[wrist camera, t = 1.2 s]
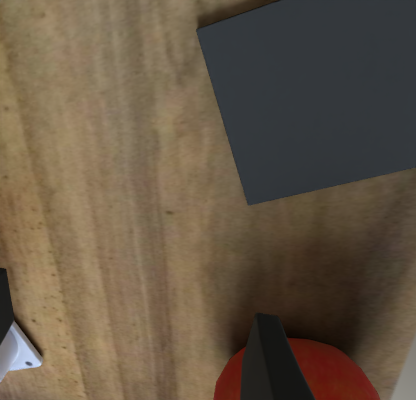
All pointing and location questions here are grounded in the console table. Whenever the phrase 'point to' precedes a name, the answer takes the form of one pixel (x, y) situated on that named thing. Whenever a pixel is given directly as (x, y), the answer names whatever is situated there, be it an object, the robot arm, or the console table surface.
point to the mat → (315, 92)
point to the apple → (309, 373)
